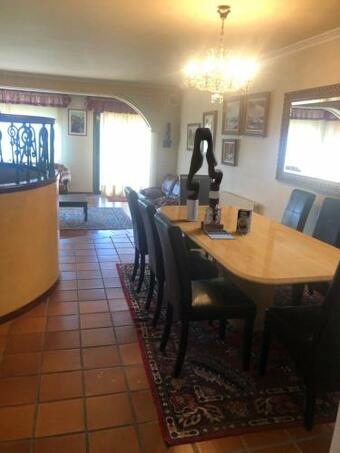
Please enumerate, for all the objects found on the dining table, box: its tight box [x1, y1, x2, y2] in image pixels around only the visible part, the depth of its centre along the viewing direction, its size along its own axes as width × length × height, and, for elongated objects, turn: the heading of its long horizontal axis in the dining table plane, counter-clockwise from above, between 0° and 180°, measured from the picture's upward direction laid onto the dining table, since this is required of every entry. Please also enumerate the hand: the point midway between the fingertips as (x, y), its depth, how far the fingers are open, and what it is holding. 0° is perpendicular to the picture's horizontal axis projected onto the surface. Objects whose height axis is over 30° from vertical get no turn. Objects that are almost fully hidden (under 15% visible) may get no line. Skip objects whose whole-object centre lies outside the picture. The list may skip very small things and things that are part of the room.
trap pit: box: [203, 228, 231, 236], centre depth 259 cm, size 10×16×2 cm, turn 100°
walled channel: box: [200, 220, 225, 230], centre depth 270 cm, size 11×14×5 cm
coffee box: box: [235, 208, 253, 234], centre depth 267 cm, size 9×6×16 cm
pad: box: [207, 234, 236, 240], centre depth 249 cm, size 10×16×1 cm, turn 100°
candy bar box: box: [203, 206, 222, 224], centre depth 269 cm, size 11×5×16 cm, turn 100°
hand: (212, 219), depth 269 cm, fingers open, 8 cm apart
